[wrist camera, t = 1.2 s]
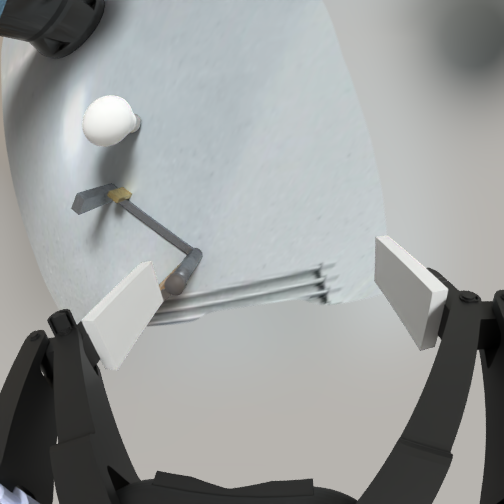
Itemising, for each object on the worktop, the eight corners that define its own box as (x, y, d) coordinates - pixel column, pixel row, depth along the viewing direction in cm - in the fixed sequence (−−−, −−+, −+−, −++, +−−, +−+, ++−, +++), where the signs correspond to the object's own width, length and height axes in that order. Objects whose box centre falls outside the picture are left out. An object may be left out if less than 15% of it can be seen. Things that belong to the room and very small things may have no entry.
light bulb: (158, 102, 33) (119, 89, 23) (152, 146, 36) (111, 147, 25) (119, 103, 33) (76, 94, 23) (114, 145, 36) (69, 148, 25)
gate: (144, 315, 45) (121, 349, 36) (134, 306, 45) (109, 338, 36) (205, 257, 40) (187, 287, 31) (194, 245, 40) (172, 273, 31)
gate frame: (105, 195, 39) (71, 208, 30) (113, 179, 38) (78, 189, 29) (197, 264, 42) (179, 292, 33) (207, 249, 41) (191, 275, 32)
